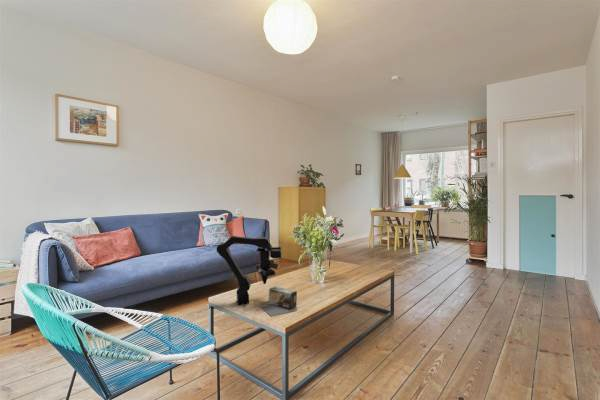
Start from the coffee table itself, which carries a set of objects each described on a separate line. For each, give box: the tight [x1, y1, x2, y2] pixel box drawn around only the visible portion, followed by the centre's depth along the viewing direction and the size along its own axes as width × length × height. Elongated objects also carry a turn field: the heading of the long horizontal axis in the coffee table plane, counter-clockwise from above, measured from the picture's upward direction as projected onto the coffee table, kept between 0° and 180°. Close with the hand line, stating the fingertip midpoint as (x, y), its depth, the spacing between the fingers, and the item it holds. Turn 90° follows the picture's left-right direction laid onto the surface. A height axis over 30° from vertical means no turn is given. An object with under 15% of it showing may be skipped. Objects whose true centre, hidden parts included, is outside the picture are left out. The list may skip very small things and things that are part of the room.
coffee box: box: [268, 286, 298, 309], centre depth 178 cm, size 9×6×16 cm
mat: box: [259, 303, 298, 317], centre depth 173 cm, size 16×16×1 cm
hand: (264, 283), depth 183 cm, fingers closed
